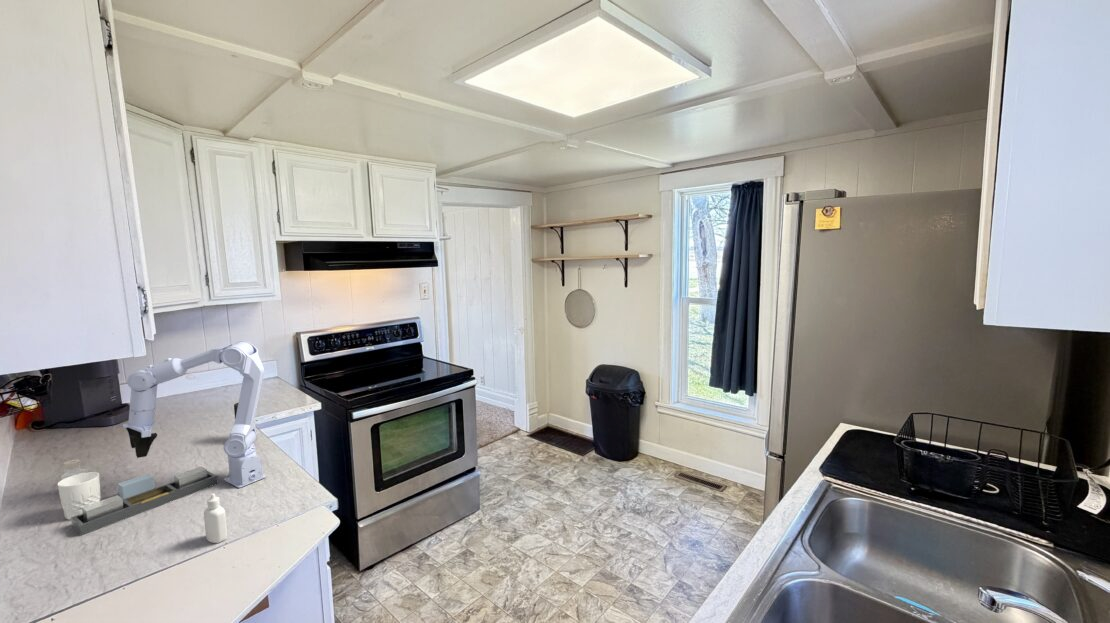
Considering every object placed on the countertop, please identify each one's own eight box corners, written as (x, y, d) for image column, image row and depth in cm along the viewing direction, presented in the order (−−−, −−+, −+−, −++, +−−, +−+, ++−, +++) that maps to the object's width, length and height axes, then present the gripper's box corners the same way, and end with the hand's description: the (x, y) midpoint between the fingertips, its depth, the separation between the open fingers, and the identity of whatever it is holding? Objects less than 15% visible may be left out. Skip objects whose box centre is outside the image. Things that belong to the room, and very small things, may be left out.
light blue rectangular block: (154, 490, 136) (153, 476, 135) (124, 501, 130) (122, 486, 129) (150, 487, 137) (148, 473, 137) (119, 497, 131) (117, 483, 131)
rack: (217, 483, 140) (216, 468, 139) (81, 535, 114) (78, 516, 113) (206, 477, 143) (205, 462, 143) (72, 526, 117) (69, 508, 117)
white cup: (101, 501, 129) (97, 469, 128) (105, 511, 124) (100, 478, 123) (61, 513, 123) (56, 479, 122) (63, 524, 118) (58, 489, 117)
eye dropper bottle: (227, 529, 117) (223, 486, 115) (227, 540, 112) (223, 496, 111) (206, 535, 114) (202, 492, 113) (205, 547, 110) (201, 502, 108)
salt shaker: (71, 489, 135) (67, 459, 134) (88, 487, 137) (84, 457, 136) (62, 496, 132) (58, 465, 130) (80, 493, 133) (76, 463, 132)
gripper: (119, 402, 134) (116, 445, 135) (129, 418, 125) (125, 464, 127) (150, 399, 140) (147, 441, 141) (161, 414, 131) (158, 458, 132)
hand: (138, 451), depth 134 cm, fingers open, 7 cm apart
